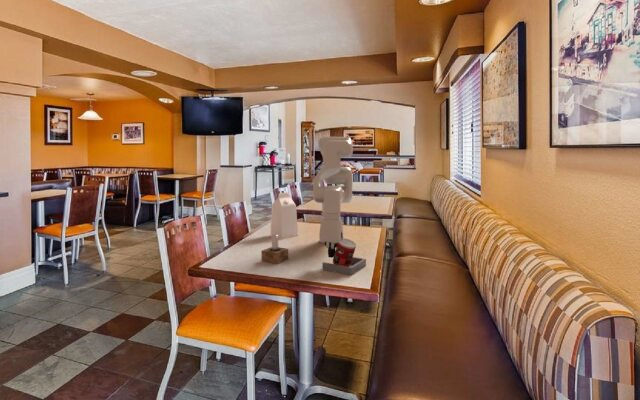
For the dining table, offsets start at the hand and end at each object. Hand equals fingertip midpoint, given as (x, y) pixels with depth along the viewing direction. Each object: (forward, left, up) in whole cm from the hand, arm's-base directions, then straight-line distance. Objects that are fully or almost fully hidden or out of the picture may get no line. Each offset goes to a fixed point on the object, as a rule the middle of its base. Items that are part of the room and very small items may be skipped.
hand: (331, 256), depth 165 cm
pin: (+6, -27, -4) cm, 28 cm away
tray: (-1, +6, -4) cm, 7 cm away
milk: (-37, -53, -4) cm, 64 cm away
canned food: (-1, +4, -3) cm, 5 cm away
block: (+6, -27, -4) cm, 28 cm away
